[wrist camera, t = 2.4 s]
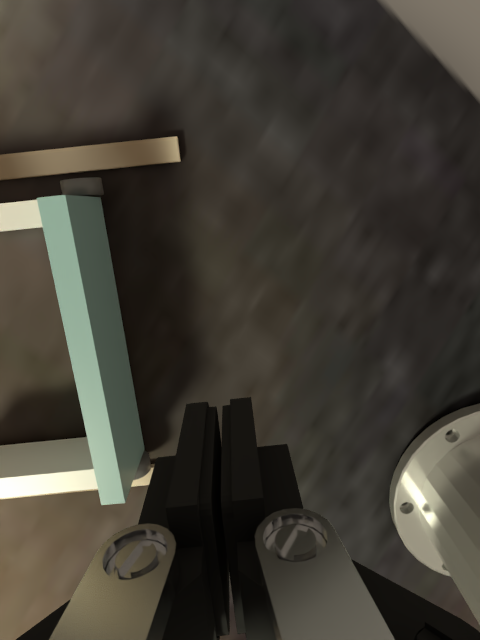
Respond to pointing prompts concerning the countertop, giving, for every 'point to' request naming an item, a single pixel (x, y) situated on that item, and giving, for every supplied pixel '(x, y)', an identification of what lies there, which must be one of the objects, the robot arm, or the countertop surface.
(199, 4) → the countertop surface
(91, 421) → the green frame
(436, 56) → the countertop surface
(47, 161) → the track
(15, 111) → the countertop surface
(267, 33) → the countertop surface
